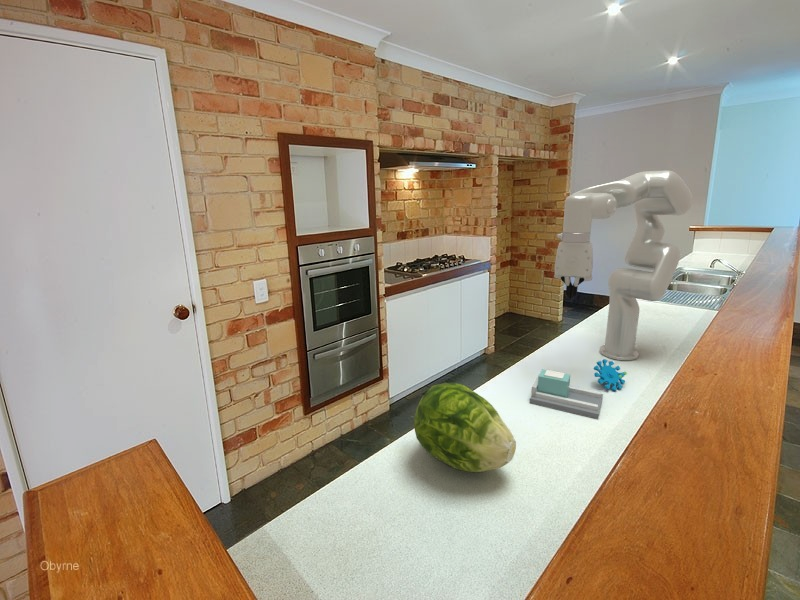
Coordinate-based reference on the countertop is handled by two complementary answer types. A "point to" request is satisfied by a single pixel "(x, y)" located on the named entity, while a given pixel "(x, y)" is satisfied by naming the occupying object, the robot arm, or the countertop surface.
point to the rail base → (570, 401)
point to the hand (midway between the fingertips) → (571, 297)
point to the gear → (609, 375)
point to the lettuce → (462, 429)
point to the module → (554, 383)
